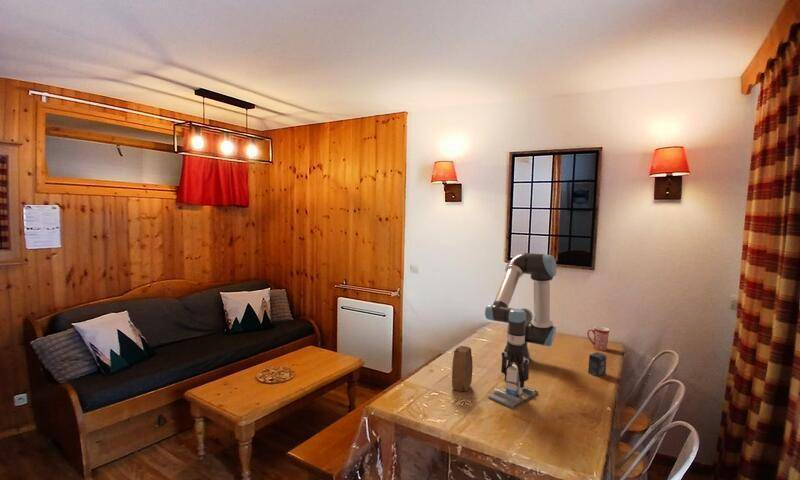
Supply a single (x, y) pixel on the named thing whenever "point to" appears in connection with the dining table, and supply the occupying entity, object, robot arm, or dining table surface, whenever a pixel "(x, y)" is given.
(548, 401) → the dining table surface
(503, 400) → the rail board
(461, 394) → the dining table surface
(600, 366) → the box
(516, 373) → the ink box
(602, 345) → the mug
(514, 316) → the robot arm
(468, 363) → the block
